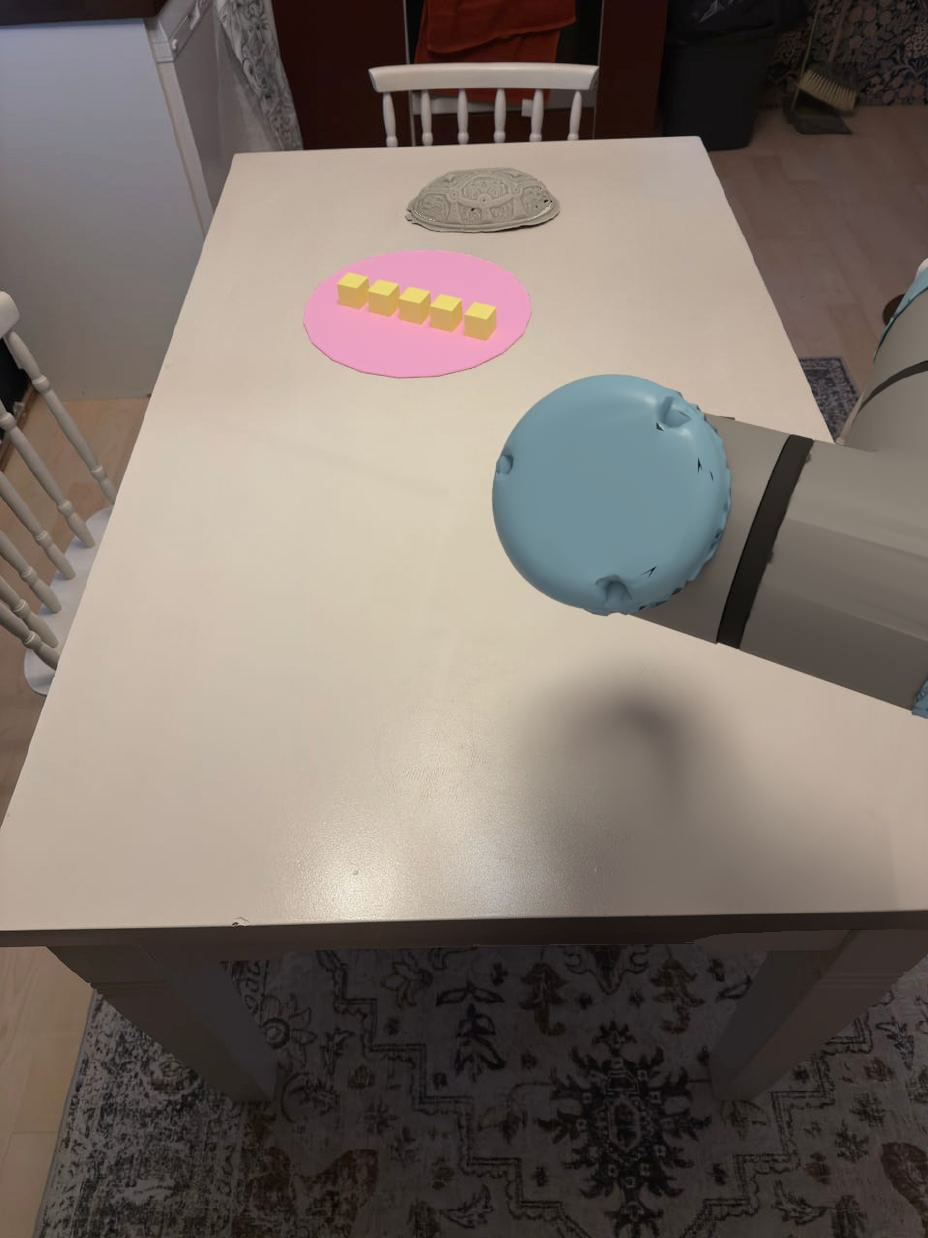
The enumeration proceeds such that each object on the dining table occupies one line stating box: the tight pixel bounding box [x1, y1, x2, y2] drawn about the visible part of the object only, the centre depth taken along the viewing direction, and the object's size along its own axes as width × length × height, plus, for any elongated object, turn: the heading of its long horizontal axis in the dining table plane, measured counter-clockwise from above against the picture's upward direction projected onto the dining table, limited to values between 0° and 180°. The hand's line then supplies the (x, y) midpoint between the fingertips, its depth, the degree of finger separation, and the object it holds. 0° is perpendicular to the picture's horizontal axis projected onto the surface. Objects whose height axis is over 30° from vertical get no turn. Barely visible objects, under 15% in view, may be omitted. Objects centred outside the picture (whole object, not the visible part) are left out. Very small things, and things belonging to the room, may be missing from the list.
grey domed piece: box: [405, 166, 561, 233], centre depth 133 cm, size 16×25×7 cm, turn 92°
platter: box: [303, 249, 532, 379], centre depth 116 cm, size 32×32×3 cm
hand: (712, 541), depth 60 cm, fingers closed on mug, 9 cm apart
